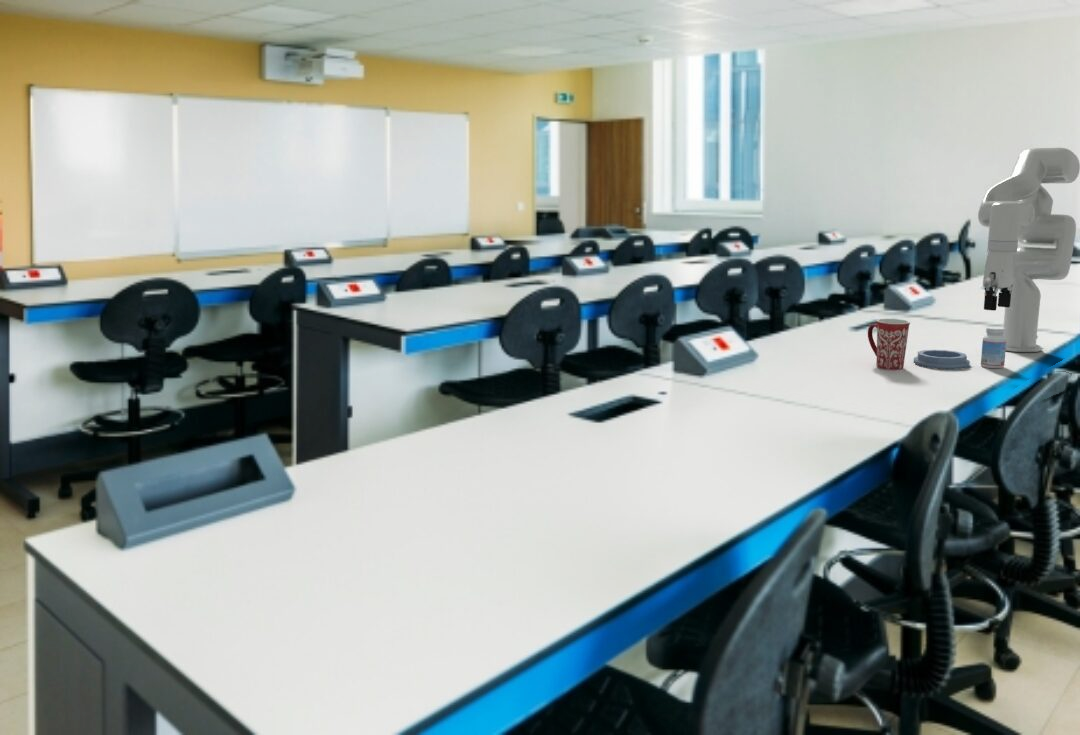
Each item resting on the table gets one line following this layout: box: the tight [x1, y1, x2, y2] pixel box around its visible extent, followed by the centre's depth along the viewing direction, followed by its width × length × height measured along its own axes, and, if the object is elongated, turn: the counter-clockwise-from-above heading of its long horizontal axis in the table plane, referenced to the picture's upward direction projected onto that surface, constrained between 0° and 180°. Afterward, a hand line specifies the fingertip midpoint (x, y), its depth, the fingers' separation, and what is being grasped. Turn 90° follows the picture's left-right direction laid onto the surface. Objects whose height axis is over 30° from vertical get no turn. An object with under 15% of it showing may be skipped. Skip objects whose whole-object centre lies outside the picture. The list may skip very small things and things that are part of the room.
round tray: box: [913, 349, 971, 370], centre depth 273 cm, size 15×15×3 cm
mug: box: [867, 318, 911, 371], centre depth 270 cm, size 13×9×14 cm
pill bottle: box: [980, 326, 1006, 369], centre depth 268 cm, size 6×6×11 cm
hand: (996, 308), depth 265 cm, fingers open, 9 cm apart
